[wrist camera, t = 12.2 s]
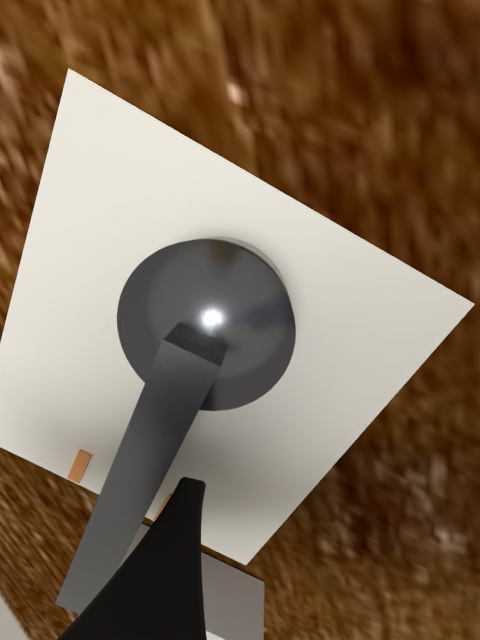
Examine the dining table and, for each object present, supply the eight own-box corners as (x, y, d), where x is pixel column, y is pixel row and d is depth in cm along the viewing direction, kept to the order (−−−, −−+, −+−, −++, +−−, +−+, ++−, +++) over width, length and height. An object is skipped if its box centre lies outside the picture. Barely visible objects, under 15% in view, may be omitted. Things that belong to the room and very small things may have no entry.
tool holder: (132, 519, 13) (102, 583, 11) (264, 582, 14) (263, 656, 11) (87, 595, 15) (54, 662, 13) (201, 647, 16) (189, 721, 14)
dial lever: (180, 209, 7) (125, 199, 5) (317, 277, 8) (344, 308, 5) (76, 494, 11) (10, 585, 8) (169, 535, 11) (135, 637, 9)
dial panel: (92, 87, 8) (65, 65, 7) (452, 295, 9) (477, 305, 8) (0, 419, 12) (-26, 437, 11) (247, 540, 13) (245, 568, 12)
